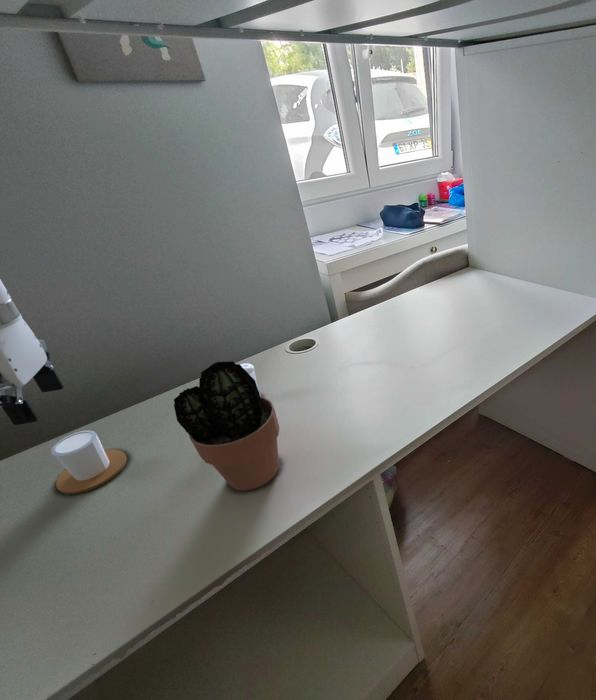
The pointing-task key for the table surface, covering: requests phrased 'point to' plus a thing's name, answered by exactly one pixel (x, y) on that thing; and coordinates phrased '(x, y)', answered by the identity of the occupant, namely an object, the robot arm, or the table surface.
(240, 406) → the potted plant
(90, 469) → the white cylinder
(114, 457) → the coaster
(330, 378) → the table surface
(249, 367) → the milkshake
